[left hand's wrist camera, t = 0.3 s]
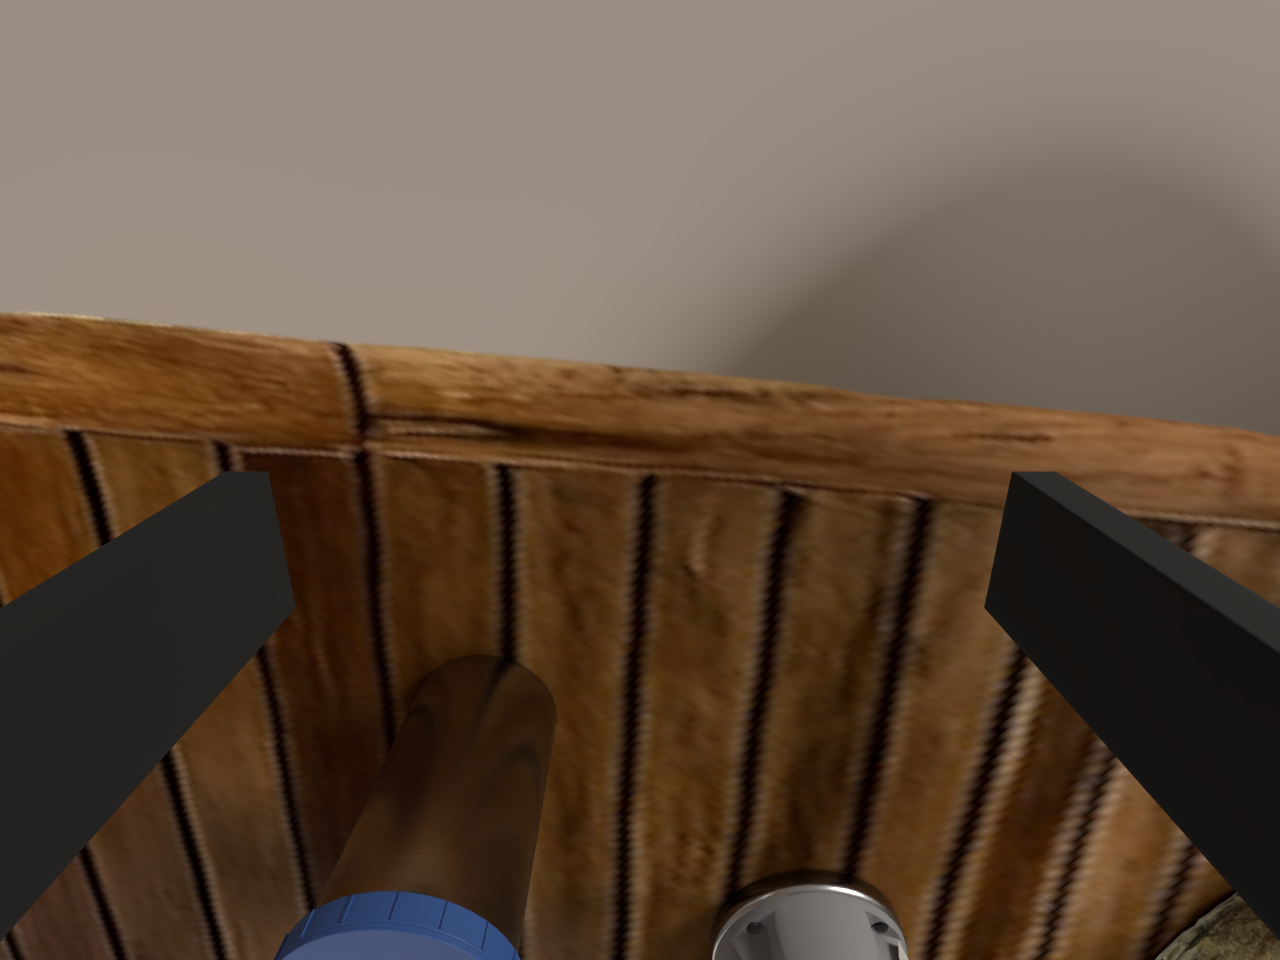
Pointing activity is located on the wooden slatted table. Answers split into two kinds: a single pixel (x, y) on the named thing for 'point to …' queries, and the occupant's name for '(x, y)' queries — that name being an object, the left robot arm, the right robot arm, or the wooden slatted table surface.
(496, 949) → the lid
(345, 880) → the jar
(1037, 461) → the wooden slatted table surface
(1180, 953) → the fossil
